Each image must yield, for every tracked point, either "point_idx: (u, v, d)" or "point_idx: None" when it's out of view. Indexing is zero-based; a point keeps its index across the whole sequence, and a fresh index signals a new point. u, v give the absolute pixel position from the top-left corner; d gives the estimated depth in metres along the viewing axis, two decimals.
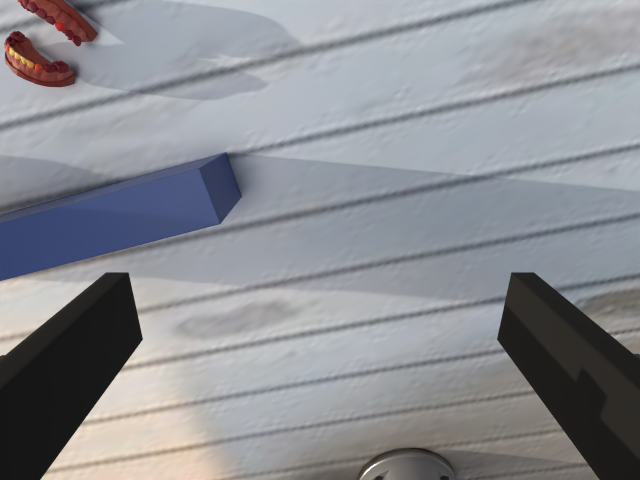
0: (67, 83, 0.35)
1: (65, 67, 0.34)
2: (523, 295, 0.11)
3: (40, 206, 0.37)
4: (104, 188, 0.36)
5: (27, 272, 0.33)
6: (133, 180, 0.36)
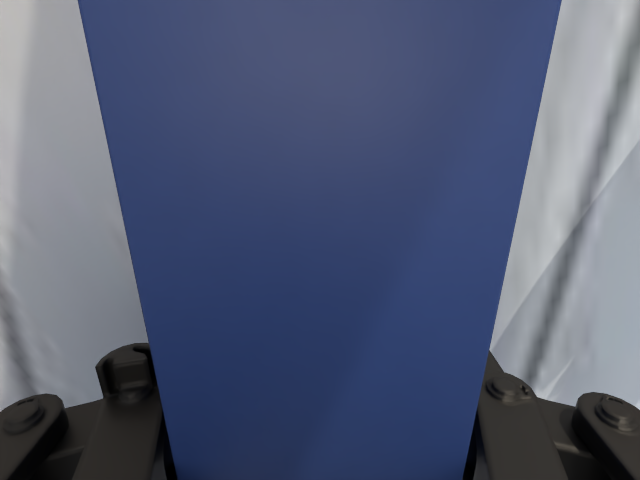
0: None
1: None
2: None
3: None
4: None
5: None
6: None
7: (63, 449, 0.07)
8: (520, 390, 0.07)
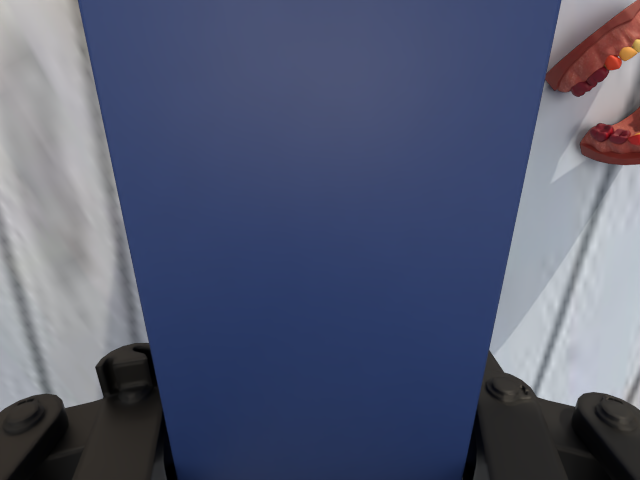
0: (552, 74, 0.20)
1: (578, 94, 0.19)
2: None
3: None
4: None
5: None
6: None
7: (64, 449, 0.07)
8: (520, 390, 0.07)
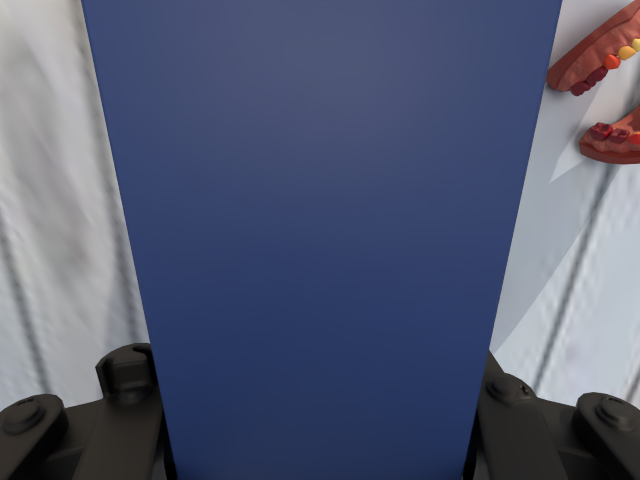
0: (551, 73, 0.20)
1: (577, 93, 0.19)
2: None
3: None
4: None
5: None
6: None
7: (64, 449, 0.07)
8: (520, 391, 0.07)
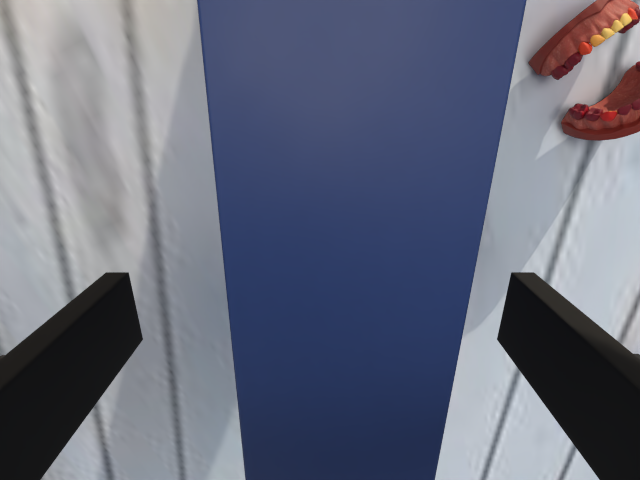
0: (535, 60, 0.23)
1: (557, 77, 0.22)
2: (523, 295, 0.11)
3: None
4: None
5: None
6: None
7: None
8: None
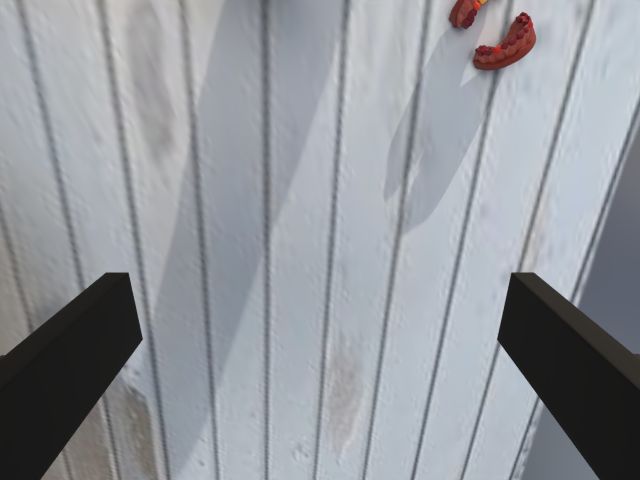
0: (452, 16, 0.35)
1: (465, 27, 0.34)
2: (523, 295, 0.11)
3: None
4: None
5: None
6: None
7: None
8: None
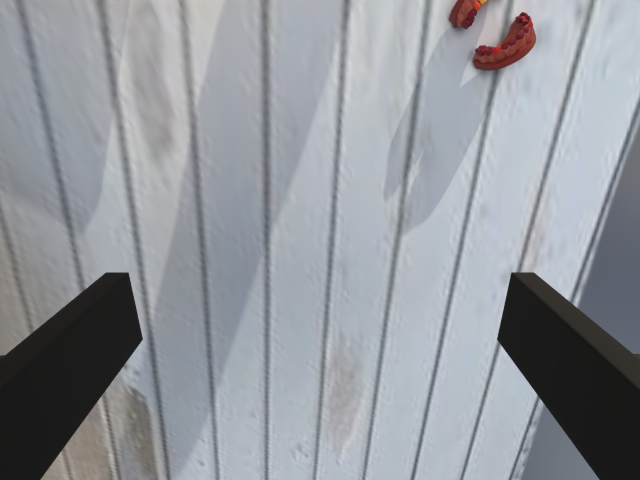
0: (452, 16, 0.35)
1: (465, 27, 0.34)
2: (523, 295, 0.11)
3: None
4: None
5: None
6: None
7: None
8: None
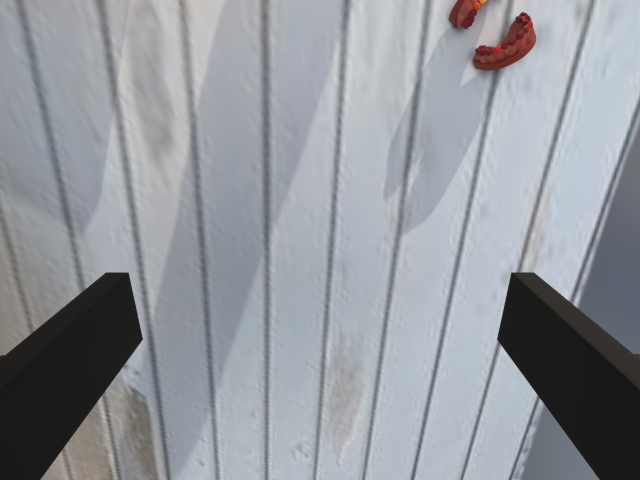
0: (452, 16, 0.35)
1: (465, 27, 0.34)
2: (523, 295, 0.11)
3: None
4: None
5: None
6: None
7: None
8: None
